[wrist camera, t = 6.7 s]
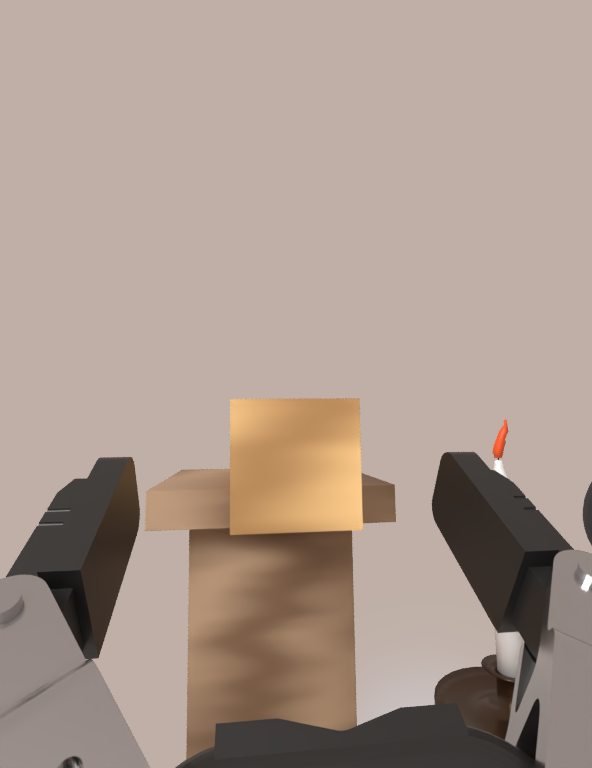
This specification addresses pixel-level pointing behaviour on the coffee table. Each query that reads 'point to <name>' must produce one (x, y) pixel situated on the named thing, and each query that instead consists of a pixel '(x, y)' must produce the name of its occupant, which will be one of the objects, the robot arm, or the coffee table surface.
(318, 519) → the ochre bar
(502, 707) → the candlestick
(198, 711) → the tall pillar
